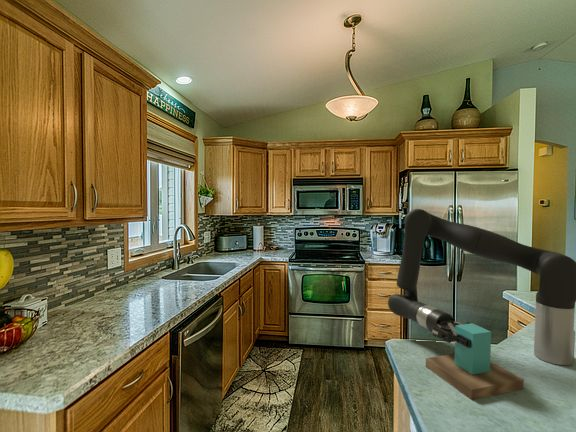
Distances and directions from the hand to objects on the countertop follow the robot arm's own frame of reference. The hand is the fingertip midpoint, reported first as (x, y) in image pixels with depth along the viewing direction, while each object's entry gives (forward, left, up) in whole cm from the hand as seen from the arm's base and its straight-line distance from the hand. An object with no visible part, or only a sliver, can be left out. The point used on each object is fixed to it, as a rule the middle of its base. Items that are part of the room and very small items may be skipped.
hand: (480, 342), depth 83 cm
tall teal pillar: (0, -2, -8) cm, 8 cm away
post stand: (0, -2, -11) cm, 11 cm away
